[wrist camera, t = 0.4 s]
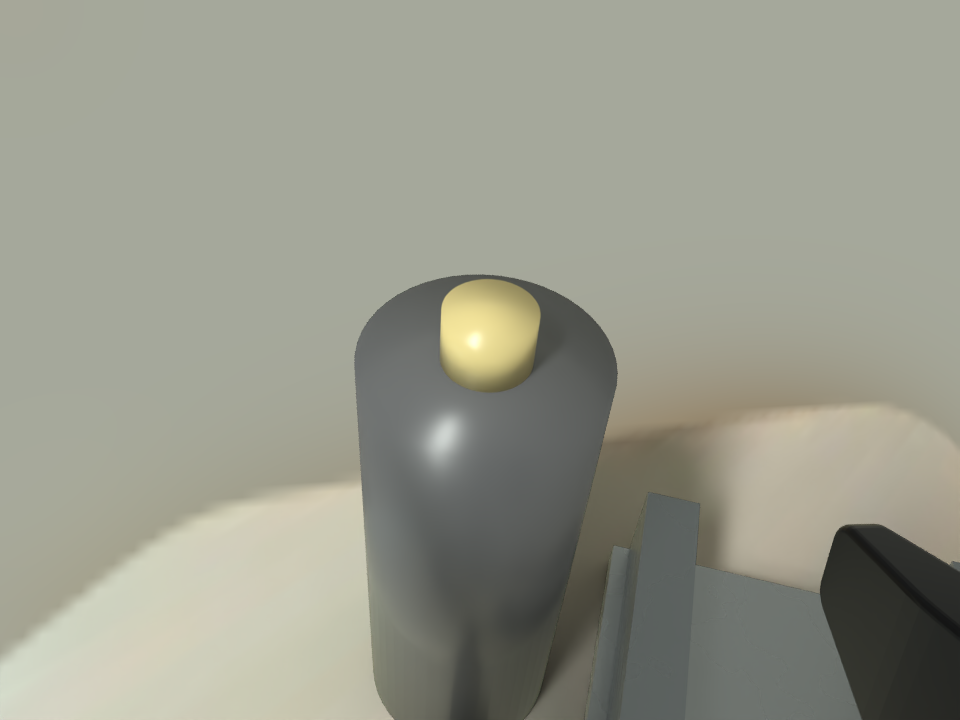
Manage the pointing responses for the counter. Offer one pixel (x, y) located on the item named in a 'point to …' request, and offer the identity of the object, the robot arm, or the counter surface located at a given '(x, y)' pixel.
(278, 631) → the counter surface
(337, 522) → the counter surface
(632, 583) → the housing
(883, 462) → the counter surface
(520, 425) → the plug
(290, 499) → the counter surface
